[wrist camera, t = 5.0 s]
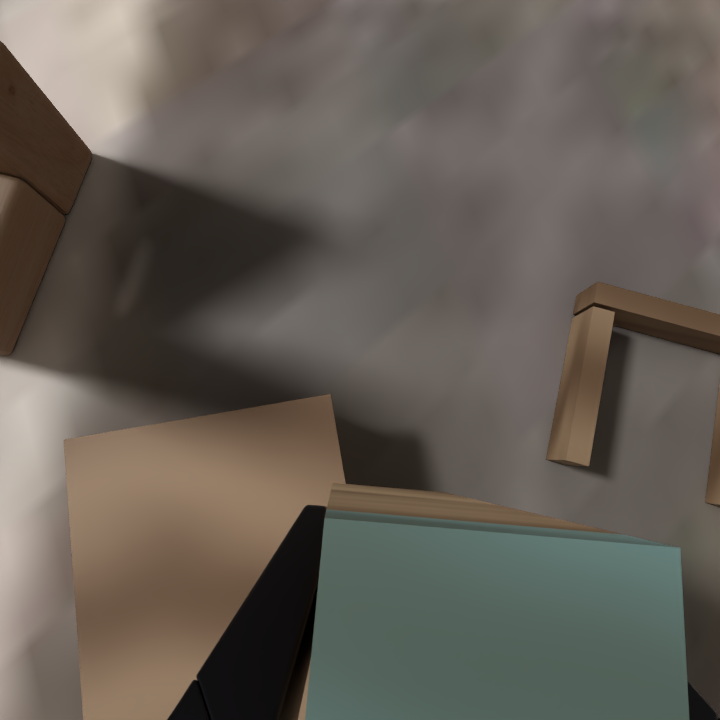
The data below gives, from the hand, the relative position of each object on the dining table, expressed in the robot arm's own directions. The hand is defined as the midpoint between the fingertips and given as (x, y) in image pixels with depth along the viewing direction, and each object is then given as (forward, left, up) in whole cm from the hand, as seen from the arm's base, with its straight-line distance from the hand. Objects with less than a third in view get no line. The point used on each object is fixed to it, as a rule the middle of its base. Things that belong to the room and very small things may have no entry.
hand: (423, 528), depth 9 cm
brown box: (-3, +6, -13) cm, 15 cm away
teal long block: (-1, 0, -7) cm, 7 cm away
